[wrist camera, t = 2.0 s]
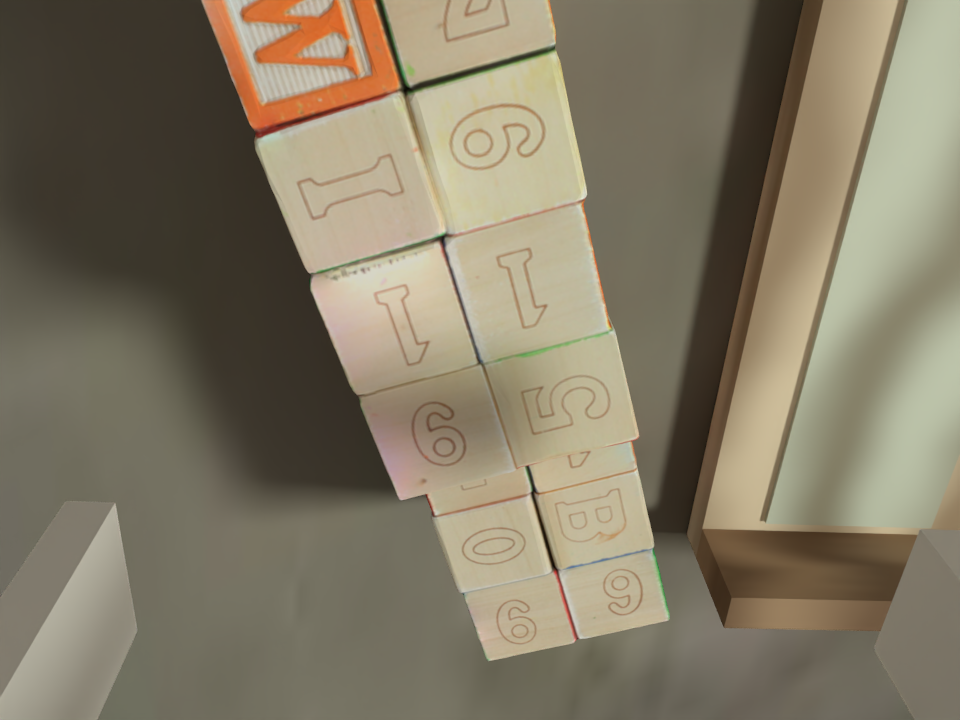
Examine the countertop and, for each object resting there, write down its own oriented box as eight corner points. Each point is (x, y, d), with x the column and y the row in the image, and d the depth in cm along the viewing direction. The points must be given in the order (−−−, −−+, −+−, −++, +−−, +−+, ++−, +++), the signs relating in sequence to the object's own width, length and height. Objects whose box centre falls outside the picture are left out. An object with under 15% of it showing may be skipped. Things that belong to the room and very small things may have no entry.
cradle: (686, 534, 36) (723, 627, 31) (840, -167, 25) (937, -191, 20) (951, 541, 37) (1028, 634, 32) (1225, -136, 25) (1412, -153, 20)
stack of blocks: (618, 460, 35) (697, 704, 24) (473, 494, 35) (484, 748, 24) (491, -111, 25) (525, -144, 14) (294, -52, 26) (179, -40, 15)
